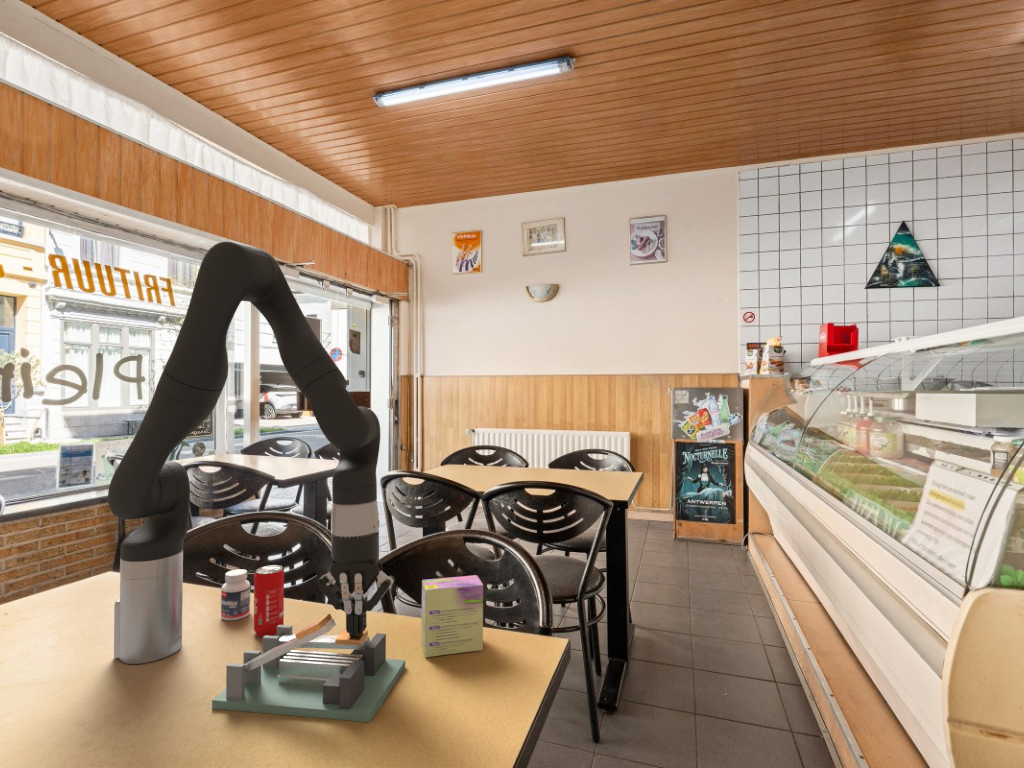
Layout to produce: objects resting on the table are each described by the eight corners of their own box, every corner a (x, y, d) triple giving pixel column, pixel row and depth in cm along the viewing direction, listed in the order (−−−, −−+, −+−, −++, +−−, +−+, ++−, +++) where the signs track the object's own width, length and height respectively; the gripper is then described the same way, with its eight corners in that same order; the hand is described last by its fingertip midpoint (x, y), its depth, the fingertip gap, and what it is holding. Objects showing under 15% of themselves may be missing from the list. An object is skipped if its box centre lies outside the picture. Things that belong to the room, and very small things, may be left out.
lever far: (268, 649, 88) (268, 637, 88) (280, 639, 92) (280, 627, 92) (362, 652, 86) (361, 640, 86) (371, 641, 90) (370, 630, 90)
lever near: (235, 679, 79) (229, 668, 79) (250, 667, 83) (244, 656, 83) (326, 634, 77) (321, 622, 78) (338, 623, 81) (332, 611, 81)
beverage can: (272, 639, 100) (272, 574, 100) (247, 636, 101) (248, 572, 101) (289, 627, 105) (289, 565, 105) (265, 625, 106) (266, 563, 106)
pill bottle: (214, 619, 108) (215, 575, 108) (233, 609, 113) (234, 567, 113) (237, 622, 107) (237, 577, 107) (255, 611, 112) (255, 569, 112)
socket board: (211, 708, 78) (212, 666, 78) (271, 657, 93) (271, 622, 93) (370, 722, 75) (370, 679, 75) (405, 667, 90) (405, 631, 90)
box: (476, 636, 101) (476, 573, 102) (483, 650, 96) (483, 584, 96) (420, 643, 98) (421, 579, 99) (424, 658, 93) (425, 590, 93)
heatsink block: (278, 683, 83) (278, 661, 83) (292, 669, 87) (292, 649, 87) (352, 689, 81) (352, 667, 81) (363, 675, 85) (363, 654, 85)
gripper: (305, 533, 85) (306, 643, 85) (385, 535, 84) (387, 647, 83) (327, 522, 93) (328, 623, 93) (401, 523, 91) (403, 626, 91)
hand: (356, 634), depth 88 cm, fingers closed
